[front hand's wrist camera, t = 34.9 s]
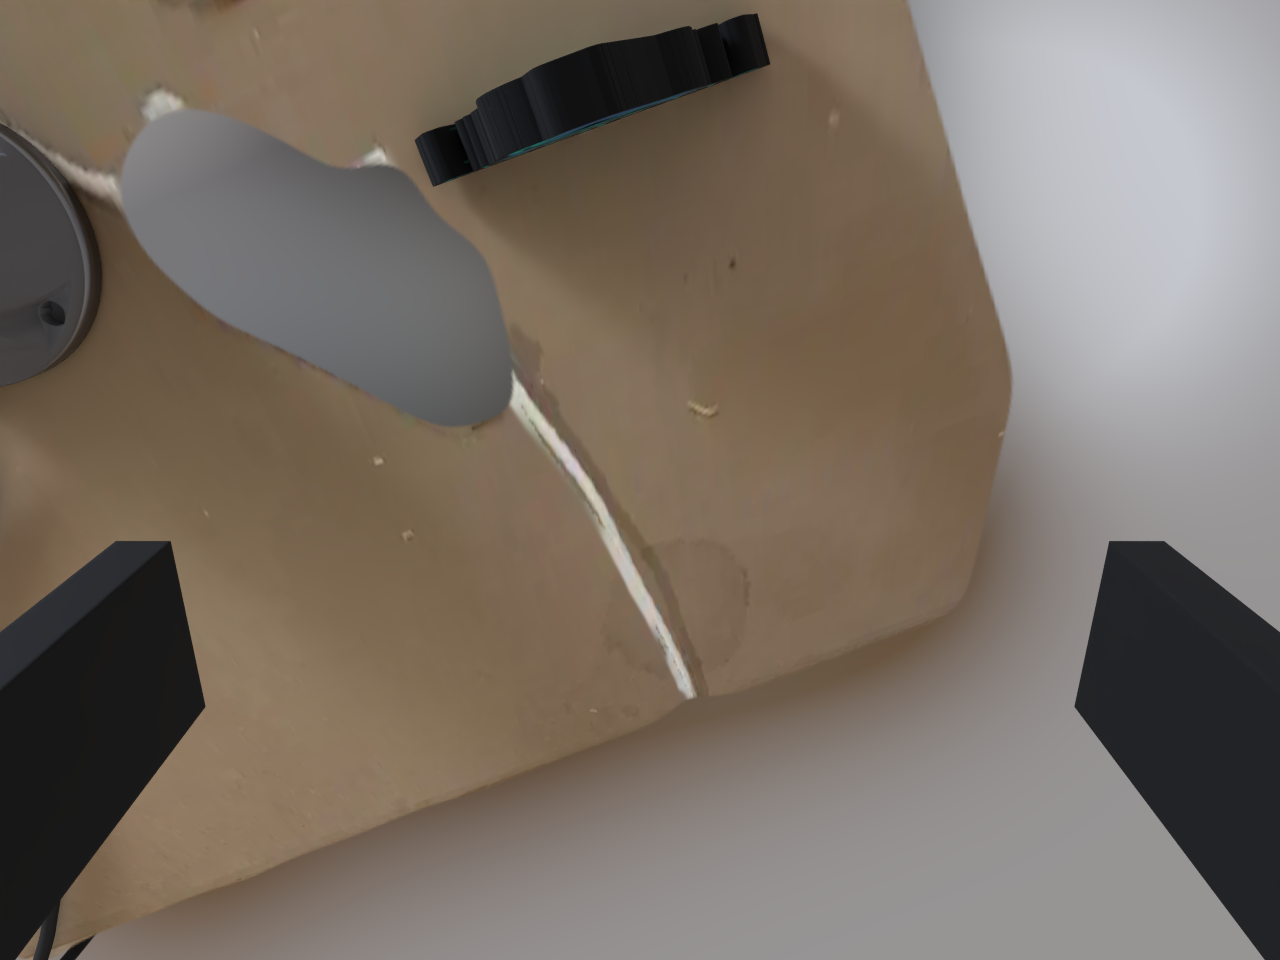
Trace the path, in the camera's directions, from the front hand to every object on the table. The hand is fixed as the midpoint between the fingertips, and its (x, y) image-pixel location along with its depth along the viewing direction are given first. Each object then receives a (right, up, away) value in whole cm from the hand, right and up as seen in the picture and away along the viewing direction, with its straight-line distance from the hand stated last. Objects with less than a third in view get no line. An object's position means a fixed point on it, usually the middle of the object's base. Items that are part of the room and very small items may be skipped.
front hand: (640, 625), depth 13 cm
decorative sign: (-3, +22, +35) cm, 42 cm away
